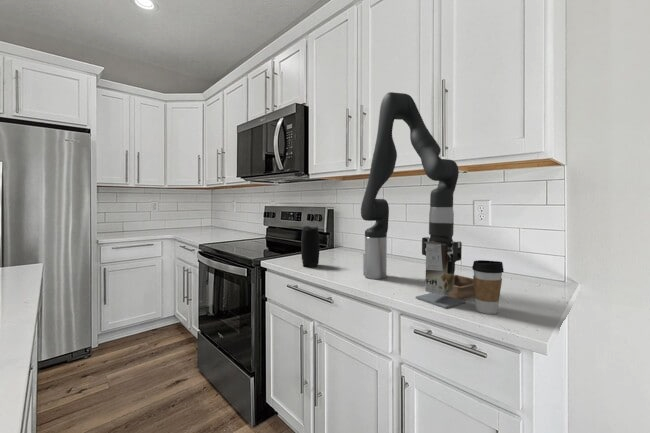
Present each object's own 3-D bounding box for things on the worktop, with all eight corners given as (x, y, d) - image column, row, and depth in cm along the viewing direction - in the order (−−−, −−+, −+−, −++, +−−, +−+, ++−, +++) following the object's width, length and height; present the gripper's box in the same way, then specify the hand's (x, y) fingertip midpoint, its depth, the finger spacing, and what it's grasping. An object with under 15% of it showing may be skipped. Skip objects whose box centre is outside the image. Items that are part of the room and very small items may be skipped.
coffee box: (444, 295, 101) (445, 244, 100) (424, 291, 106) (425, 242, 105) (454, 289, 108) (455, 241, 107) (435, 285, 112) (436, 239, 111)
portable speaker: (321, 264, 164) (321, 226, 163) (314, 268, 156) (314, 227, 154) (306, 263, 167) (306, 225, 166) (298, 267, 159) (298, 227, 157)
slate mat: (415, 298, 110) (415, 296, 110) (435, 293, 115) (435, 291, 115) (445, 308, 99) (445, 306, 99) (465, 303, 105) (465, 301, 105)
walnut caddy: (430, 290, 118) (430, 279, 118) (456, 284, 126) (456, 274, 125) (460, 299, 108) (460, 288, 107) (486, 293, 115) (486, 281, 115)
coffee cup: (493, 317, 92) (495, 265, 91) (465, 309, 99) (466, 260, 98) (507, 311, 97) (509, 261, 96) (480, 304, 104) (481, 257, 103)
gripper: (416, 220, 110) (415, 268, 111) (452, 223, 97) (451, 277, 98) (431, 219, 114) (430, 265, 115) (468, 221, 101) (467, 274, 102)
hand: (440, 270), depth 107 cm, fingers closed on coffee box, 7 cm apart
